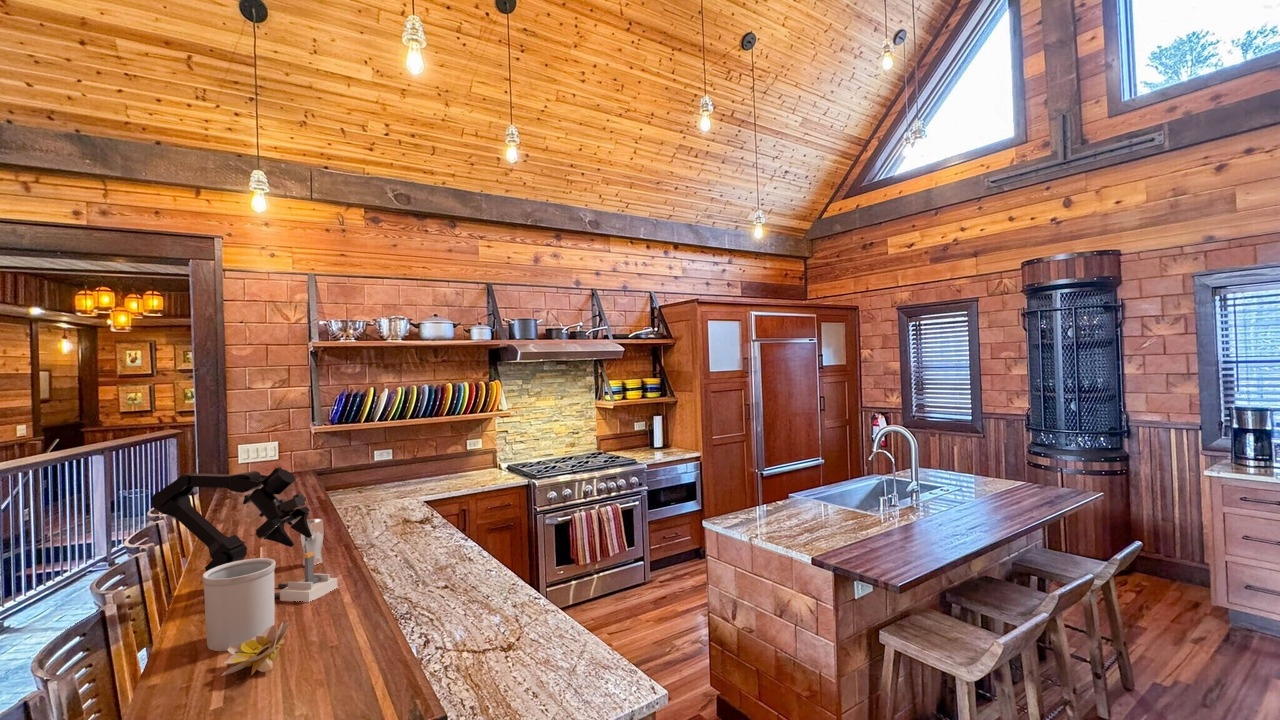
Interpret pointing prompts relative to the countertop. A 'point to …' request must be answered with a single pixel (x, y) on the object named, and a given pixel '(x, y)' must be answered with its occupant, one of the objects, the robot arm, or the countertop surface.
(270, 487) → the robot arm
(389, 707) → the countertop surface
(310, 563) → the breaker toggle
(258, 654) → the decorative flower
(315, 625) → the countertop surface
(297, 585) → the box
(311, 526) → the beer glass
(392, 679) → the countertop surface
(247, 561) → the utensil holder
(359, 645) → the countertop surface
